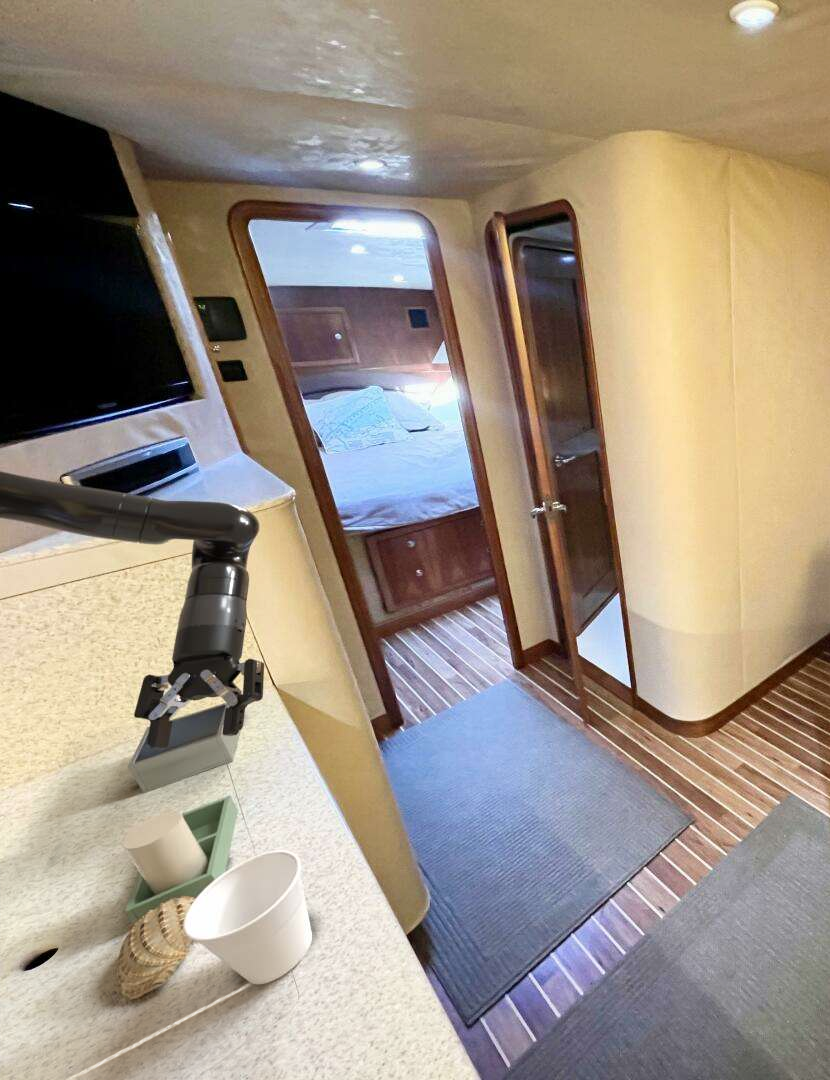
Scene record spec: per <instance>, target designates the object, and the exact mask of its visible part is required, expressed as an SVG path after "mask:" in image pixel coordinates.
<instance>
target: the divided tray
mask: <svg viewBox="0 0 830 1080" xmlns="http://www.w3.org/2000/svg"><path fill="white" fill-rule="evenodd" d="M238 813H239V809H238V807H237V806H236V804H235V802H234V800H233V797H232V796H231V795H227V796H225V797H222V798H219V799H217V800H214V801H212V802H209V803H207V804H203V805H201V806H198V807H195V808H194V809H191V810H188V811H185V812H182V813H181V814H182V815H183V817H184V819H185V820H186V822H187V824H188V826H189V827H190V829H191V831H192V832H193V834H194V836H195V838H196V839H197V841H198V843H199V844H200V846H201V848H202V849H203V851H204V853H205V855H206V856H207V858H208V860H209V861H210V862H209V866H208V870H207V874H204V875H202V876H200V877H197V878H195V879H193V880H191V881H188V882H186V883H184V884H181V885H179V886H177V887H174V888H172V889H170V890H167V891H165V892H163V893H160V894H158V895H156V896H155V895H154V893H153V892H152V890H151V889H150V887H149V886H148V884H147V883H146V881H145V880H144V878H143V877H142V875H141V874H140V872H139V871H138V872H139V873H138V875H137V877H136V880H135V883H134V886H133V887H132V888H133V889H132V892H131V894H130V897H129V899H128V902H127V904H126V907H125V910H124V913H125V915H126V916H127V918H128V919H129V920H130V922H131V924H132V925H133V926H134V925H135V923H136V922H137V921H138V920H139V919H141V918H142V917H143V916H145V915H146V914H147V913H148V912H149V910H155V909H156V908H157V907H159V905H160V903H162V904H163V903H165V902H166V901H169V900H170V899H173V898H181V897H182V896H188V897H194V898H197V897H198V895H199V894H200V893H201V892H202V891H203V890H204V889H205V888H206V887H207V886H208V885H209V884H211V883H212V882H213V881H214V880H215V879H216V878H218V877H219V876H220V875H222V874H223V873H225V872H226V871H227V865H228V861H229V856H230V852H231V846H232V841H233V837H234V832H235V827H236V822H237V817H238Z"/></svg>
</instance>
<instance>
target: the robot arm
mask: <svg viewBox="0 0 830 1080" xmlns="http://www.w3.org/2000/svg"><path fill="white" fill-rule="evenodd" d="M0 519H3V520H11V521H16V522H21V523H25V524H30V525H35V526H40V527H44V528H48V529H53V530H57V531H60V532H66V533H71V534H75V535H80V536H85V537H91V538H97V539H104V540H112V541H118V542H125V543H126V542H127V543H135V544H142V545H152V546H153V545H155V546H161V545H164V544H167V543H168V542H170V541H173V540H185V541H186V540H188V541H193V542H192V548H191V549H192V550H191V571H190V574H189V577H188V581H187V587H186V592H185V597H184V602H183V606H182V608H181V611H180V613H179V617H178V624H177V630H176V634H175V639H174V645H173V651H172V657H171V660H172V664H173V667H172V670H171V672H169V674H165V675H154V674H147V675H146V676H144V677H143V679H142V683H141V687H140V690H139V694H138V698H137V702H136V705H135V710H134V713H133V716H134V718H137V719H143V720H149V723H150V724H149V727H150V728H149V734H148V739H147V743H148V745H150V748H152V749H163V748H167V747H168V745H169V739H170V733H171V727H172V722H173V721H170V720H173V719H174V716H176V714H177V713H178V712H179V711H180V710H181V709H183V708H186V707H187V706H188V704H189V703H191V701H200V700H203V699H206V698H219V697H220V698H222V700H223V701H224V703H227V704H228V705H229V708H226V709H225V717H224V724H223V732H222V733H223V735H225V736H234V735H237V734H238V733H239V730H241V731H242V729H243V728H244V720H245V713H246V708H247V706H248V705H250V704H252V703H254V702H260V701H261V700H263V697H264V682H265V681H264V680H265V679H264V677H265V663H264V662H263V661H260V660H257V659H255V658H254V659H253V658H248V659H246V660H245V661H244V662H240V660H241V658H242V656H243V650H244V649H243V648H244V641H245V633H246V626H247V618H248V612H247V601H248V593H249V586H250V585H249V584H250V576H249V575H250V574H249V571H248V570H247V566H248V559H249V554H250V549H251V546H252V544H253V542H254V541H255V540H256V538H257V536H258V534H259V531H260V522H259V520H258V518H257V516H256V515H254V514H253V513H252V512H251V511H249V510H248V509H246V508H244V507H241V506H238V505H235V504H231V503H225V502H220V501H219V502H217V501H201V500H200V501H196V500H192V501H191V500H163V499H159V498H154V497H152V498H151V497H148V496H143V495H137V494H133V493H125V492H120V491H114V490H108V489H101V488H95V487H89V486H84V485H83V486H82V485H77V484H70V483H65V482H64V483H63V482H57V481H51V480H46V479H40V478H33V477H29V476H24V475H19V474H15V473H10V472H5V471H1V470H0ZM240 674H241V676H243V681H242V682H243V684H242V690H241V689H240V688H239V687H238V685H236V683H235V682H234V681H235V680H236V679H237V678H238V676H240ZM169 685H170V688H169ZM165 690H167V692H165ZM177 697H178V698H177Z"/></svg>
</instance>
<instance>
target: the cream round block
mask: <svg viewBox="0 0 830 1080" xmlns="http://www.w3.org/2000/svg"><path fill="white" fill-rule="evenodd" d="M182 814H183V813H182V812H180V811H177V810H169V811H168V810H167V811H165V812H161V813H158V814H156V815H153V816H151V817H149V818H147V819H145V820H143V821H141V822H140V823H139V824H137V825H136V826H134V827H133V828H132V829H131V830H129V832H127V834H125V836H124V837H123V839H122V841H121V847H122V849H123V850H124V852H125V853H126V854H127V856H128V857H129V859H130V860H131V862H132V864H134V866H135V868H136V869H137V871H138V872H140V874H141V875H142V877H143V878H144V880H145V881H146V883H147V884H148V886H149V887H150V889H151V890H152V892H153V893H154V895H155V896H156V895H158V894H160V893H163V892H165V891H167V890H170V889H172V888H174V887H177V886H179V885H181V884H184V883H186V882H188V881H191V880H193V879H195V878H197V877H200V876H202V875H204V874H207V870H208V866H209V862H210V861H209V860H208V858H207V856H206V855H205V853H204V851H203V849H202V848H201V846H200V844H199V843H198V841H197V839H196V838H195V836H194V834H193V832H192V831H191V829H190V827H189V826H188V824H187V822H186V820H185V819H184V817H183V815H182Z"/></svg>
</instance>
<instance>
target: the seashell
mask: <svg viewBox="0 0 830 1080" xmlns="http://www.w3.org/2000/svg"><path fill="white" fill-rule="evenodd" d="M195 899H196V898H194V897H188V896H182V897H181V898H173V899H170V900H169V901H166V902H165V903H163V904H162V903H160V905H159V907H157V908H156V909H155V910H149V912H148V913H147V914H146V915H145V916H143V917H142V918H141V919H139V920H138V921H137V922H136V923H135V925H133V926H132V927H131V929H130V932H129V933H128V934H127V936H126V937H125V938H124V940H123V942H122V945H121V947H120V951H119V955H118V958H117V964H116V978H117V981H118V988H119V991H120V993H121V994H122V995H123V996H125V997H128V998H129V1000H128V1001H130V1002H133V1001H134V999H139V998H140V997H142V996H144V995H146V994H147V993H149V992H151V991H153V990H155V989H157V988H160V987H162V986H163V985H165V984H166V983H168V982H169V980H170V979H171V978H172V976H173V975H174V974H175V971H176V970H177V969H178V967H179V965H181V964H182V962H184V960H185V959H186V957H187V955H188V954H189V947H190V945H191V943H192V942H193V941H192V940H190V939H189V938H187V937H186V936H185V933H184V931H183V922H184V918H185V915H186V913H187V911H188V909H189V908H190V906H191V904H192V903H193V902H194V900H195Z"/></svg>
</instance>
